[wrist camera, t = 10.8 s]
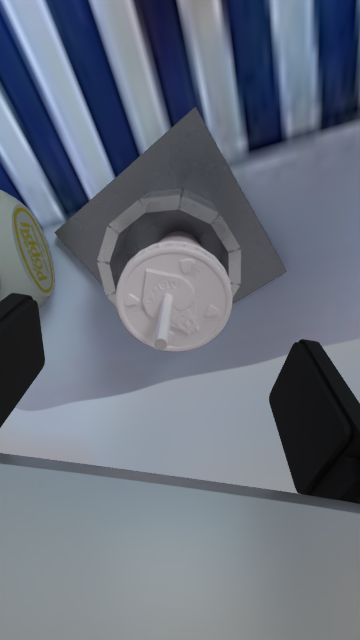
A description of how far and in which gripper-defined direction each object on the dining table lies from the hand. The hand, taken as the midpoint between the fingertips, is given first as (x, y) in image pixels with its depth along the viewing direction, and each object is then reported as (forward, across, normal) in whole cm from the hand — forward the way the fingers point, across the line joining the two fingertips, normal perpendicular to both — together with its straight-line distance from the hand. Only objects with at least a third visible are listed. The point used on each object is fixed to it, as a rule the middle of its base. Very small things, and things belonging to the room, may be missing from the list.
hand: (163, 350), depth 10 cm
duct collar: (+16, 0, +1) cm, 16 cm away
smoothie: (+15, 0, +1) cm, 15 cm away
